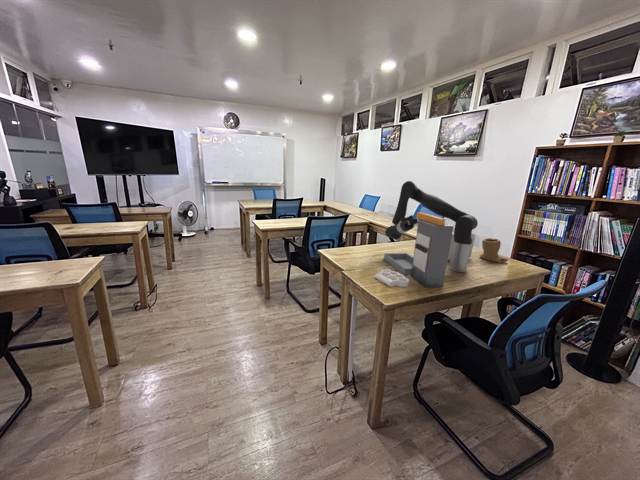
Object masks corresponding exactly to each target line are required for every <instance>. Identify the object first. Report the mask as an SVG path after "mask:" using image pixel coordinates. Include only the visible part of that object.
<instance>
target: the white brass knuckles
mask: <svg viewBox="0 0 640 480" xmlns="http://www.w3.org/2000/svg"><path fill="white" fill-rule="evenodd" d="M374 278H375V279H376V280H378V281H380V282H381V283H383V284H385V285H386V286H388V287H390V288H391V287H395V286H398V287H401V288H407V287H409V283H410V279H409V278H407V277H406V275H405V276H404V275H403V274H402V273H400V272H399V271H396V270H395V271H393V270H391V269H389V268H383V269H381V272H378V273H376V274H375V275H374Z"/></svg>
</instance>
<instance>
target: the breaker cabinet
mask: <svg viewBox="0 0 640 480" xmlns="http://www.w3.org/2000/svg"><path fill="white" fill-rule="evenodd" d="M417 221H418V220H417ZM454 228H455V225H452V224H448V223H446V222H445V224H444V225H437V224H434V223H431V222H428V221H425V220H419V221H418V224H417V230H416V236H415V243H414V244H415V245H414V250H413V256H412V257H413V264H412V272H411V275H410V277H411V279H413V280H415V281H416V282H417V283H418V284H419V285H421V286H422V287H423V288H424V289H427V288H428V289H430V288H431V289H432V288H443V287H444V282H445V276H446V272H447V266H448V261H449V260H448V255H449V249H450V244H451V238H452V232H454Z"/></svg>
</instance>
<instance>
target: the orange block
mask: <svg viewBox="0 0 640 480" xmlns="http://www.w3.org/2000/svg"><path fill="white" fill-rule="evenodd" d="M415 218H419V219H422V220H425V221H428V222H431V223H434V224H437V225H444V224H445V223H446V218H444V217H441V216H436V215H433V214H429V213H426V212H422V211H421V212H420V211H417V212H416V217H415Z"/></svg>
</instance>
